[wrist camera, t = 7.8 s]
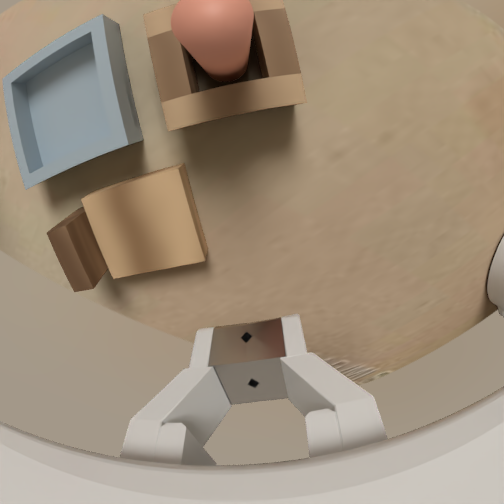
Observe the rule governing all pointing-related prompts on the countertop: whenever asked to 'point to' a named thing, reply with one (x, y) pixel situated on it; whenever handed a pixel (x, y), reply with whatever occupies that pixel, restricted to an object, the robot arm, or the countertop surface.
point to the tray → (71, 102)
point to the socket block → (230, 96)
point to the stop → (78, 251)
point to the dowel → (216, 34)
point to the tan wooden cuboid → (147, 223)
